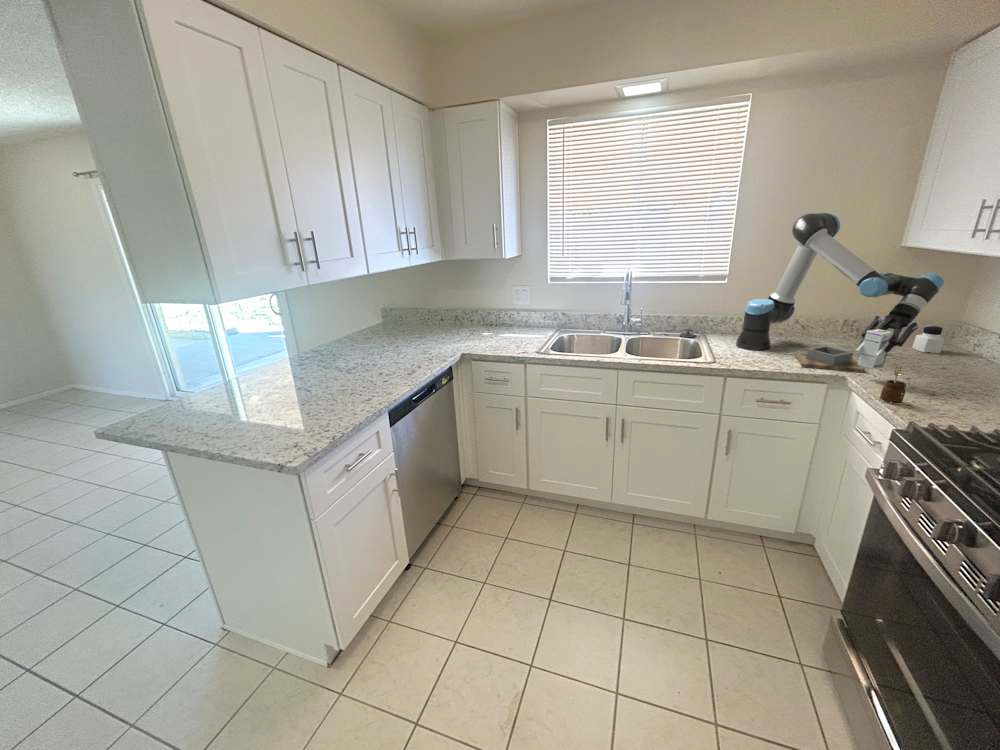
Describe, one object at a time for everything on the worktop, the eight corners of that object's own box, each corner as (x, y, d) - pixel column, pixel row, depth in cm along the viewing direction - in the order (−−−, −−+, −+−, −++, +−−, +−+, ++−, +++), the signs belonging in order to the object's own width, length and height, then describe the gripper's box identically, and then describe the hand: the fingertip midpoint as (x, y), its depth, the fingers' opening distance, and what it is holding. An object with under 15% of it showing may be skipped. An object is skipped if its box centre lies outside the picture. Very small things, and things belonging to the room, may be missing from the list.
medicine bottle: (940, 353, 194) (949, 328, 190) (923, 353, 195) (931, 328, 191) (928, 349, 200) (936, 324, 196) (911, 348, 201) (919, 324, 197)
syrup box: (872, 369, 162) (884, 333, 156) (856, 364, 167) (867, 329, 162) (882, 367, 163) (894, 332, 158) (866, 363, 169) (877, 328, 163)
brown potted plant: (880, 402, 146) (890, 370, 142) (878, 396, 151) (887, 365, 147) (903, 405, 143) (914, 373, 139) (899, 399, 148) (910, 367, 144)
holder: (805, 358, 188) (807, 349, 186) (823, 355, 192) (825, 345, 190) (832, 366, 178) (835, 356, 176) (850, 362, 181) (853, 352, 180)
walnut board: (801, 366, 182) (802, 363, 182) (793, 355, 197) (794, 352, 196) (864, 372, 174) (865, 369, 173) (851, 360, 188) (852, 357, 188)
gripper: (940, 320, 155) (898, 367, 155) (881, 310, 172) (844, 353, 172) (936, 307, 151) (894, 356, 152) (877, 298, 168) (838, 342, 169)
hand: (867, 354), depth 162 cm, fingers closed on syrup box, 6 cm apart
